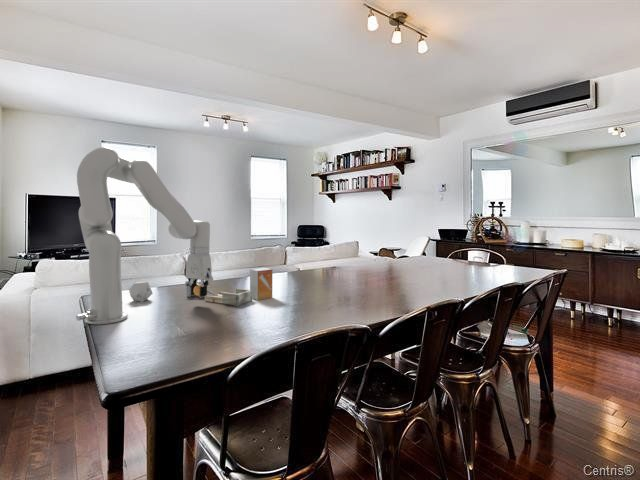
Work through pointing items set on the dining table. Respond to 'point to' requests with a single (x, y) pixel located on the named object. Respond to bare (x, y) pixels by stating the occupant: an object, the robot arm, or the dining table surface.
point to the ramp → (194, 295)
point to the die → (140, 291)
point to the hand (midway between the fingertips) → (198, 294)
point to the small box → (261, 283)
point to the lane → (232, 297)
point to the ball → (197, 290)
